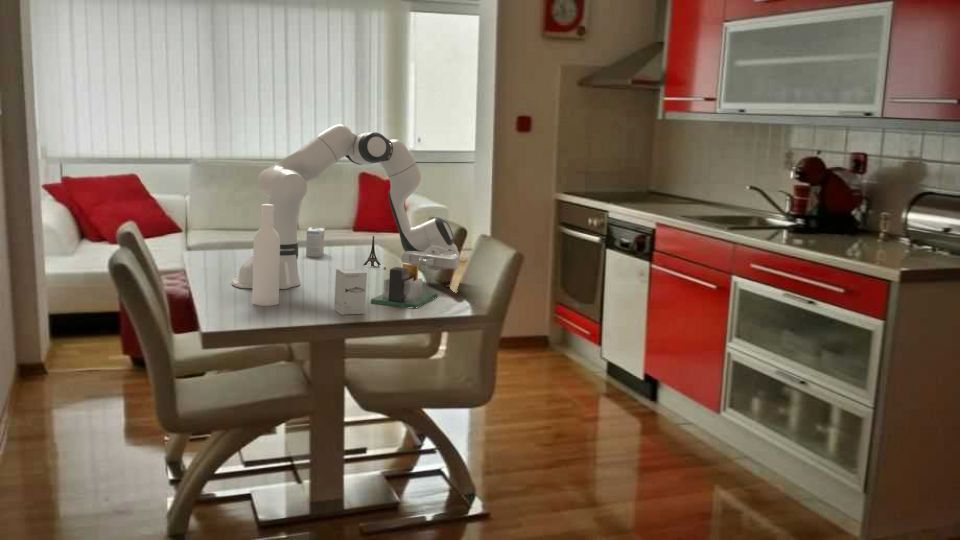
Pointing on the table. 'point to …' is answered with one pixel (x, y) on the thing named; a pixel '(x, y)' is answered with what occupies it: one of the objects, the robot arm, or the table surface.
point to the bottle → (266, 260)
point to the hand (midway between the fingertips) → (422, 262)
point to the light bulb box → (315, 242)
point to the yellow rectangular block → (411, 271)
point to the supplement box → (350, 291)
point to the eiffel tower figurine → (372, 256)
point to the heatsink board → (403, 290)
